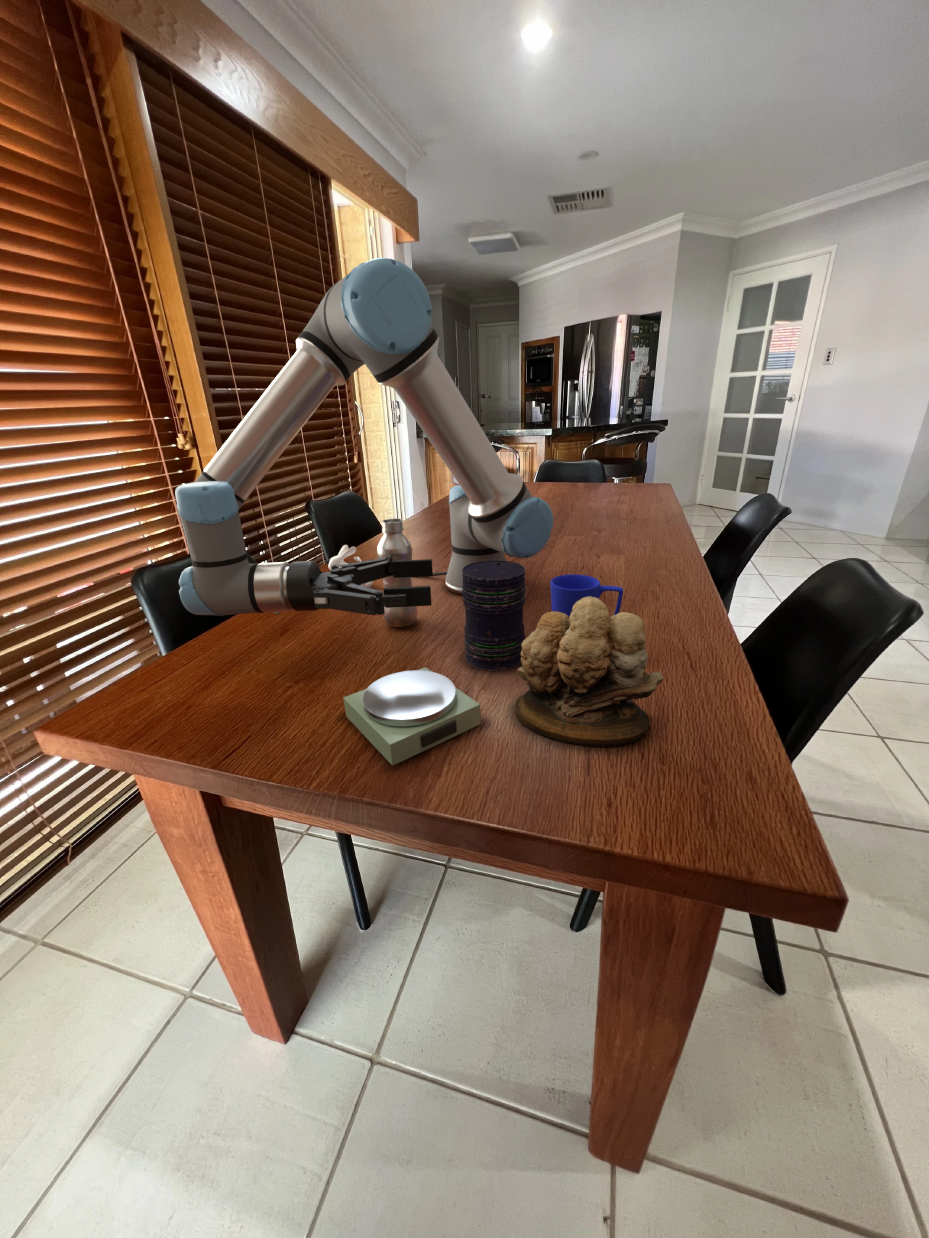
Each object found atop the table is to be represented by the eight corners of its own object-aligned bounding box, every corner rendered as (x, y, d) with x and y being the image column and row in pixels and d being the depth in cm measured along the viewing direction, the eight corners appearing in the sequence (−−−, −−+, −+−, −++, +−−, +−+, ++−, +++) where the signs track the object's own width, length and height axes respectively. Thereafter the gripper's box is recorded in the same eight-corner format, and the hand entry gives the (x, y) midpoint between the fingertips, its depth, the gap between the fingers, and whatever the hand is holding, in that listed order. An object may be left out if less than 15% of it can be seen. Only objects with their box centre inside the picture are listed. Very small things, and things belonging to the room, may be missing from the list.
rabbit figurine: (321, 591, 115) (314, 550, 111) (337, 580, 122) (332, 542, 118) (367, 594, 112) (362, 553, 108) (382, 583, 118) (377, 544, 114)
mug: (620, 647, 83) (626, 591, 79) (547, 643, 85) (549, 588, 81) (617, 627, 90) (621, 575, 86) (549, 624, 92) (551, 573, 89)
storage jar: (515, 674, 76) (516, 581, 70) (456, 666, 79) (451, 576, 73) (531, 647, 84) (532, 562, 78) (476, 640, 87) (473, 558, 82)
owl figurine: (655, 703, 67) (670, 584, 60) (657, 758, 57) (677, 621, 50) (523, 686, 72) (524, 575, 66) (504, 734, 62) (503, 607, 55)
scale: (345, 716, 67) (342, 697, 66) (427, 684, 74) (425, 666, 73) (393, 767, 57) (391, 746, 56) (482, 725, 64) (482, 705, 63)
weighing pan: (347, 696, 66) (346, 689, 65) (424, 668, 72) (424, 661, 72) (391, 739, 57) (390, 732, 56) (474, 702, 63) (474, 695, 63)
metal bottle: (424, 619, 97) (416, 517, 89) (409, 633, 91) (400, 525, 84) (394, 616, 99) (384, 516, 91) (378, 629, 93) (366, 524, 86)
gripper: (314, 584, 88) (433, 578, 89) (270, 644, 65) (431, 636, 66) (308, 542, 85) (431, 537, 86) (259, 590, 62) (428, 583, 63)
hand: (432, 580), depth 76 cm, fingers open, 13 cm apart
